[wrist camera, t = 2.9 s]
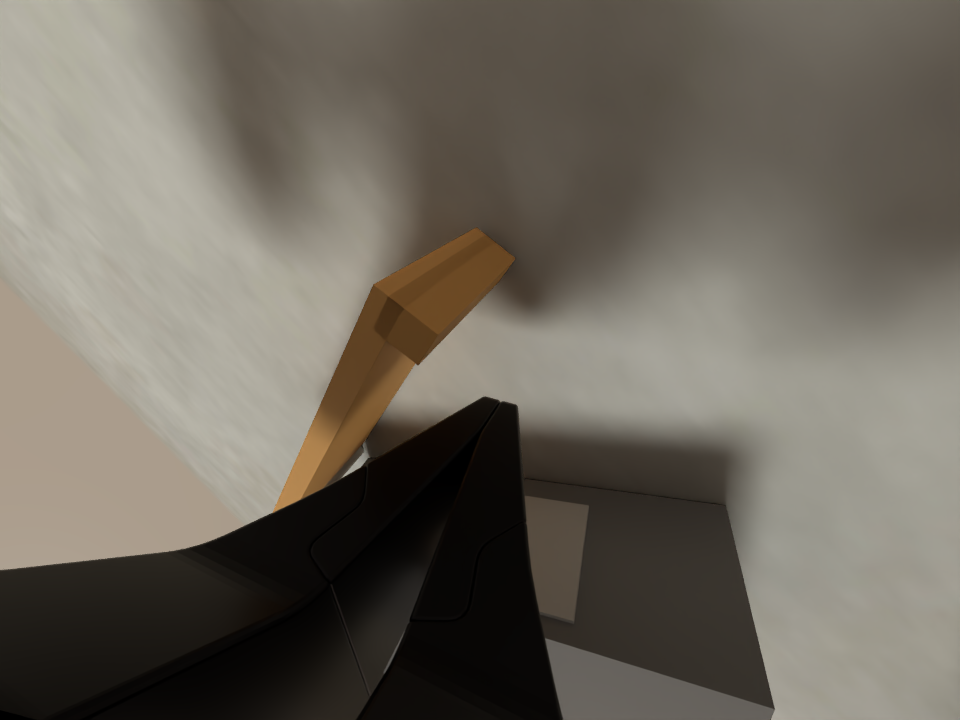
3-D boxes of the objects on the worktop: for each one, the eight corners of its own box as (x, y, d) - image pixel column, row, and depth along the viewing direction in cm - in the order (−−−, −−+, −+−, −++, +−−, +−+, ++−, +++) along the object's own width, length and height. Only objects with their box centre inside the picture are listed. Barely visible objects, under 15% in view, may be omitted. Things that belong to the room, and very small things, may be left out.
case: (729, 479, 11) (785, 683, 7) (705, 635, 15) (731, 822, 11) (341, 437, 17) (249, 531, 13) (398, 555, 21) (341, 654, 17)
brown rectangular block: (375, 452, 16) (298, 546, 12) (352, 435, 16) (267, 523, 12) (515, 258, 9) (438, 335, 6) (476, 227, 9) (373, 284, 6)
